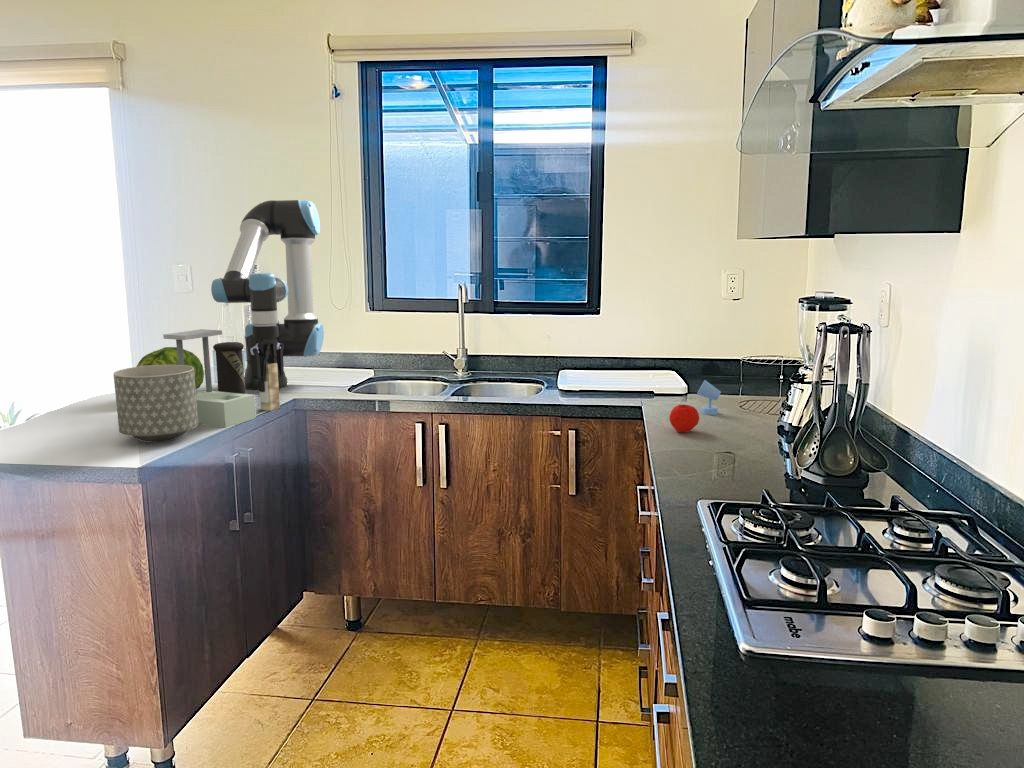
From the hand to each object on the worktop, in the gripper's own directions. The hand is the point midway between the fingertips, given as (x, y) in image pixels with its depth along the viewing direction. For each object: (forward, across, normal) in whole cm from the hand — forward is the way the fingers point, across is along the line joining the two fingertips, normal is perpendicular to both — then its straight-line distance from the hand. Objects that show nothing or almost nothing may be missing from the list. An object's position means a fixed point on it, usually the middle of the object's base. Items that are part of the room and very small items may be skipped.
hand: (269, 400), depth 240 cm
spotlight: (+3, -45, +125) cm, 133 cm away
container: (+3, 0, -15) cm, 15 cm away
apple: (+3, -20, +123) cm, 125 cm away
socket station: (+3, +18, -4) cm, 19 cm away
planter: (+3, +40, -2) cm, 40 cm away
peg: (+3, 0, 0) cm, 3 cm away
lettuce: (+3, +3, -39) cm, 39 cm away
